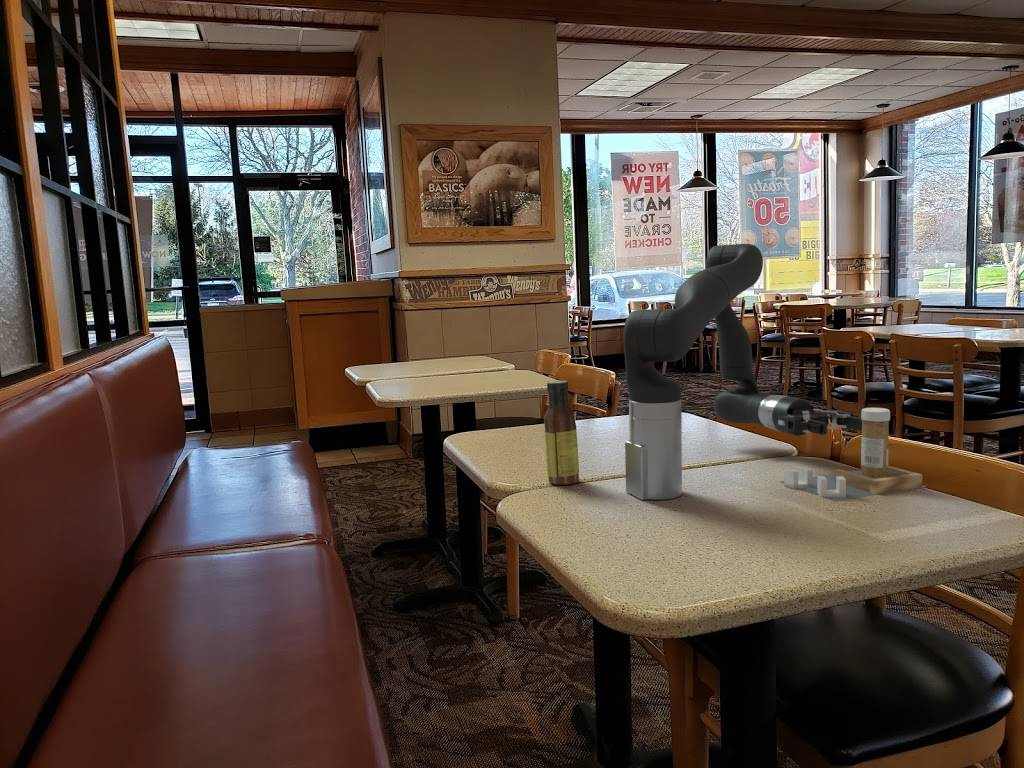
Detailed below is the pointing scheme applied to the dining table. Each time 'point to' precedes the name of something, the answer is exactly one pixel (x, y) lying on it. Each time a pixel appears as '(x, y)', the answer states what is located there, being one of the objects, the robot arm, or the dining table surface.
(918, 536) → the dining table surface
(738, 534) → the dining table surface
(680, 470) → the robot arm
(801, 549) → the dining table surface
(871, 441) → the sprinkles bottle
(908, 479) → the end holder
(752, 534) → the dining table surface
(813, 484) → the board
